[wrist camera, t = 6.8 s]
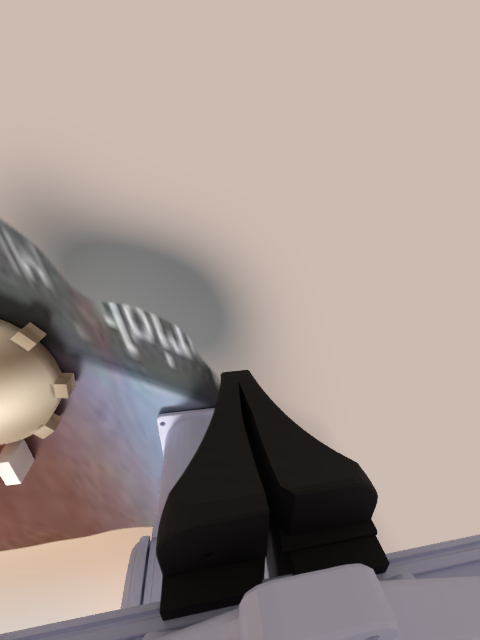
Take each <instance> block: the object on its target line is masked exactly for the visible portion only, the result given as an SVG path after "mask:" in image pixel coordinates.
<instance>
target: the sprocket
mask: <svg viewBox="0 0 480 640" xmlns="http://www.w3.org/2000/svg"><path fill="white" fill-rule="evenodd" d="M45 335H46V333H45V332H43V331H42V330H40V329H39V328H38V327H36V326H35V325H34V324H32V323H31V322H30V323H28V324H27V325H26V326H25V327H23V328H22V329H20V328H19V327H17V326H15V325H13V324H11V323H8V322H6V321H3V320H1V319H0V451H1V449H2V448H3V446H4V445H5V444H8V443H12V442H16V441H19V440H21V439H24V438H26V437H28V436H31V435H33V434H34V435H36V436H38V437H40V438H42V439H44V438H46V437H47V436H48V435H50V434H51V433H52V432H54V431H55V429H56V427H57V425H58V424H59V422H60V420H61V417H60V416H58V415H56V414H55V413H54V411H55V410H56V408H57V406H58V405H59V403H60V401H61V398H69V396H70V395H71V393H72V391H73V390H74V388H75V386H76V385H75V378H74V373H61V370H60V368H59V366H58V364H57V362H56V360H55V359H54V357H53V356H52V355H51V353H50V352H49V351H48V350H47V349H46V348H45V347H44V346H43V345H42V344H41V343H40V342H39V341H40V340H41V339H42V338H43V337H44V336H45Z"/></svg>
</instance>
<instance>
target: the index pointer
mask: <svg viewBox="0 0 480 640" xmlns="http://www.w3.org/2000/svg"><path fill="white" fill-rule="evenodd" d="M33 462H34V458H33V456H32V454H31V452H30V450H29V448H28V446H27V444H26V442H25V440H24V439H21V440H19V441H16V442H12V443H8V444H7V445H6V447H5V448H4V449H3V451H2V452H1V454H0V476H1V478H2V479H3V481H4V483H5V484H6V486H7V485H14V484H21V483H22V481H23V479H24V477H25V476H26V474H27V472H28V471H29V469H30V467H31V466H32V464H33Z"/></svg>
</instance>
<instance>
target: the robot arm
mask: <svg viewBox="0 0 480 640" xmlns="http://www.w3.org/2000/svg"><path fill="white" fill-rule="evenodd" d="M162 422H164V423H162ZM157 424H158V429H159V435H160V440H161V446H162V451H163V464H162V473H161V481H160V490H159V499H158V507H157V516H156V518H155V519H154V523H153V533H152V540H151V541H150V536H143V537H142V538H141V539H140V542H138V543H137V544H136V545H135V547H134V548H133V549H132V552H131V556H130V560H129V564H128V569H127V574H126V581H125V586H124V592H123V598H122V604H121V609H120V610H115V611H110V612H105V613H100V614H96V615H91V616H86V617H81V618H76V619H72V620H67V621H62V622H57V623H52V624H48V625H43V626H38V627H34V628H29V629H24V630H19V631H14V632H9V633H5V634H0V640H480V535H475V536H471V537H466V538H461V539H456V540H451V541H446V542H441V543H437V544H432V545H427V546H422V547H417V548H412V549H408V550H403V551H398V552H394V553H389V554H385V553H384V551H383V549H382V547H381V545H380V543H379V541H378V540H377V537H376V535H377V529H376V527H375V526H374V524H373V522H372V520H371V518H372V515H373V512H374V509H375V507H376V504H377V498H378V495H377V492H376V490H375V488H374V486H373V485H372V483H371V481H370V480H369V478H368V477H367V475H366V474H365V472H364V471H363V470H362V469H361V467H360V466H359V464H358V463H356V462H354V461H353V460H351V459H349V458H347V457H345V456H343V455H342V454H340V453H337V452H336V451H334V450H333V449H331V448H329V447H328V446H326V445H324V444H323V443H321V442H320V441H318V440H317V439H315V438H314V437H313V436H311V435H310V434H309V433H307V432H306V431H304V430H303V429H302V428H301V427H299V426H298V425H297V424H296V423H295V422H293V421H292V420H291V419H290V418H289V417H288V416H287V415H285V414H284V412H283V411H281V410H280V408H279V407H277V406H276V404H275V403H274V402H273V401H272V400H271V399H270V398H269V397H268V395H267V394H266V393H265V392H264V391H263V389H262V388H261V387H260V386H259V384H258V383H257V382H256V380H255V379H254V378H253V376H252V375H251V373H250V371H248V370H242V371H232V372H224V373H222V374H221V385H220V391H219V395H218V399H217V403H216V407H215V408H210V409H200V410H191V411H182V412H173V413H164V414H159V415H158V416H157Z"/></svg>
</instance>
